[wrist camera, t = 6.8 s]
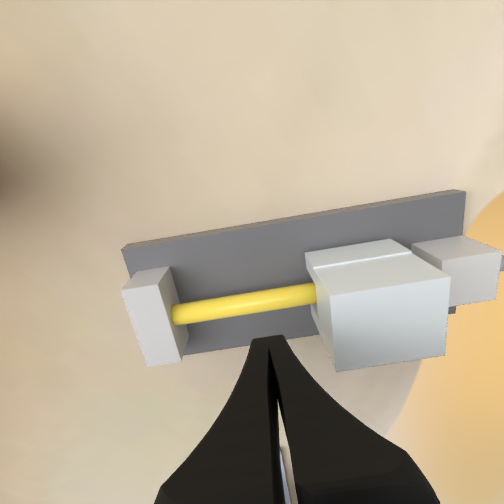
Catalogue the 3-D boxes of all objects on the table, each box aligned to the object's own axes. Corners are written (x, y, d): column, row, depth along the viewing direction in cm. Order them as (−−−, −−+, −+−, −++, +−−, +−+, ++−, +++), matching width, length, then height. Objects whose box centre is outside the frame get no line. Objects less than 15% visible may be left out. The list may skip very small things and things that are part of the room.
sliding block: (390, 301, 18) (444, 356, 13) (311, 314, 18) (336, 373, 13) (390, 238, 16) (451, 274, 12) (304, 252, 17) (329, 294, 12)
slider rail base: (462, 302, 20) (511, 336, 16) (162, 349, 20) (144, 392, 17) (473, 186, 17) (535, 195, 13) (127, 244, 18) (97, 268, 14)
